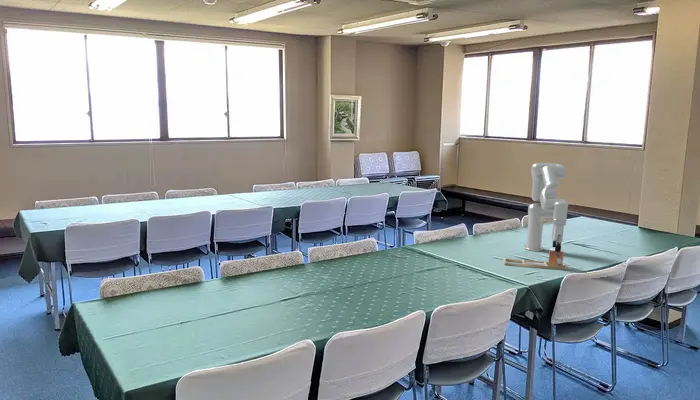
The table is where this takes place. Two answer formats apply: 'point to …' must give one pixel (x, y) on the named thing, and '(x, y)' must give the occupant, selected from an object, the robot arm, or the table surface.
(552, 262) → the small box
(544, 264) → the rail frame
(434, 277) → the table surface
